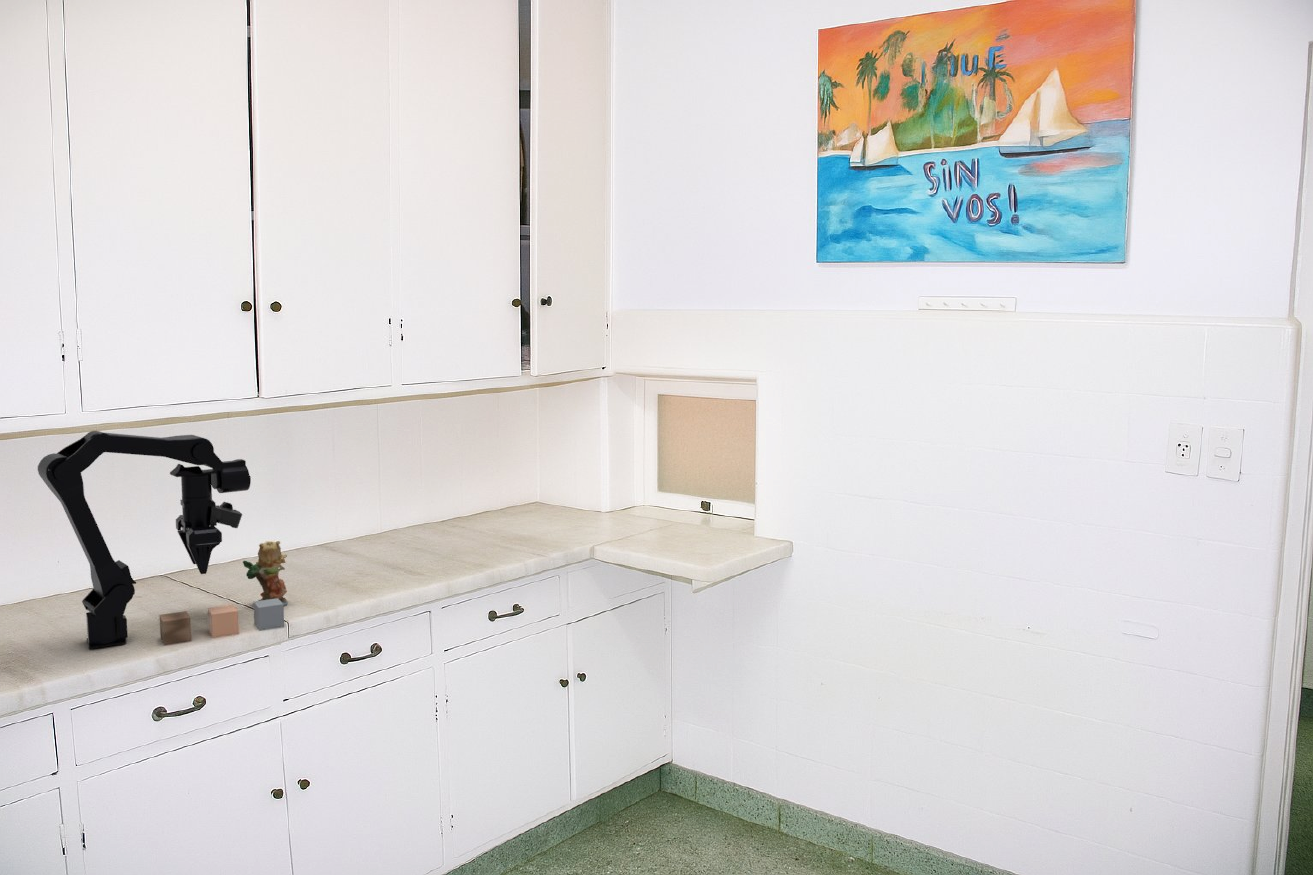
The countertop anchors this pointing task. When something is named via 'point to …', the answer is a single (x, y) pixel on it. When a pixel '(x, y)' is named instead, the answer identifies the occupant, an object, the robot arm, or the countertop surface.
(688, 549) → the countertop surface
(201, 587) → the countertop surface
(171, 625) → the walnut cube
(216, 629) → the terracotta cube
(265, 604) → the slate cube
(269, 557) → the figurine
